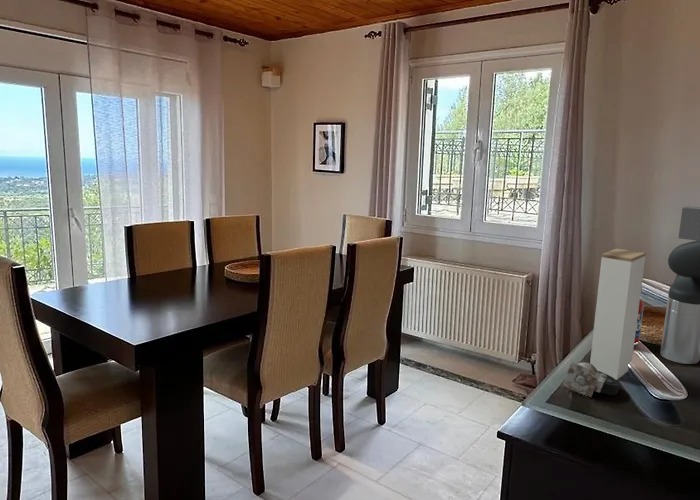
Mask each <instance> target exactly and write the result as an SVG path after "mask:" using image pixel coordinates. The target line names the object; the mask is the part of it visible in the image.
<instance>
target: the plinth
mask: <svg viewBox="0 0 700 500" xmlns="http://www.w3.org/2000/svg"><path fill="white" fill-rule="evenodd" d="M646 255H647V254H646V252H643V251H638V250H637V251H635V250H630V249H629V250H628V249H622V248H614V249H612V250H609V251H607V252H603V253H602V254H601V260H600V269H599V277H598V286H597V297H596V306H595V315H594V325H593V333H592V340H591V341H592V343H591V351H590V362H589V363H590V364H592V365H593V366H594V367H595V368H596V369H597V371H600V372H603V373H605V374H607V375H609V376H611V377H613V378H614V379H616V380H617V381H618V380H619V379H620V378H621V377H622V376H624V375H625V374H626V373H628V372H629V371H628V364H629V363H630V362H631V361H632V362H633V355H634V347H635V346H634V341H635V333H636V325H637V318H638V310H639V302H640V296H641V293H642V286H643V277H644V269H645V263H646Z"/></svg>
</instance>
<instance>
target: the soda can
mask: <svg viewBox="0 0 700 500" xmlns="http://www.w3.org/2000/svg"><path fill="white" fill-rule="evenodd" d="M644 307H645V303H644V300H643V297H642V296H641V295H640V302H639V310H638V318H637V325H636V333H635V341H634V343H636V342H639V343H640V339H641V338H640V337H641V332H642V331H641V330H642V323H643V315H644Z"/></svg>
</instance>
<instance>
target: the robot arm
mask: <svg viewBox="0 0 700 500" xmlns="http://www.w3.org/2000/svg"><path fill="white" fill-rule="evenodd" d="M667 264H668V267H669V269H670V270H671V271H672V272H673V273H675V274H676V276H675V278H674V281H673V283H672V284H671V285H670V287H669V290H668V297H667V302H666V311H665V318H664V324H663V331H662V332H663V333H662V338H661V339H662V340H661V344H660V353H659V354H660V356H661V357H662V358H664V359H666V360H668V361H672V362H674V363H679V364H685V365H686V364H687V365H693V364H698V363H699V361H700V241H696V240H691V241H688V242H685V243H682V244H679V245H677V246H676V247H674V249H673V250H671V252H670V254H669V255H668V259H667Z"/></svg>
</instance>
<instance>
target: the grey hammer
mask: <svg viewBox="0 0 700 500" xmlns="http://www.w3.org/2000/svg"><path fill="white" fill-rule="evenodd" d="M680 217H681V218H680V222H679V223H680V224H679V231H678V239H682V240H689V241H690V240H691V241H700V206H694V205H693V206H692V205H691V206H689V205H687V206H684V207H682V209H681V216H680Z"/></svg>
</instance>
